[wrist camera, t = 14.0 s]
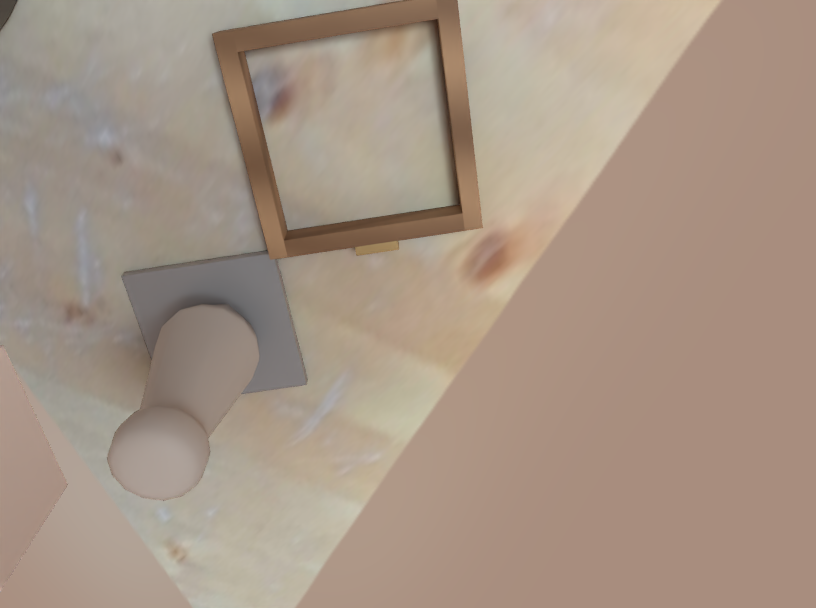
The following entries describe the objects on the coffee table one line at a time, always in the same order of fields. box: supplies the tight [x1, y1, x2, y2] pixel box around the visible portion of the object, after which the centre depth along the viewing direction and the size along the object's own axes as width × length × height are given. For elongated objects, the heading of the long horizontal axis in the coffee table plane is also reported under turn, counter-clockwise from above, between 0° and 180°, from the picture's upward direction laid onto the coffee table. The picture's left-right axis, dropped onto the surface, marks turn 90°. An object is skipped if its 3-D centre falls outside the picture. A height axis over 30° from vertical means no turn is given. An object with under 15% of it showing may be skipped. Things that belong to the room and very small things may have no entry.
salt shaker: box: [107, 304, 259, 501], centre depth 36 cm, size 6×6×13 cm
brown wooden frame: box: [212, 0, 483, 260], centre depth 37 cm, size 13×12×2 cm
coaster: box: [121, 251, 308, 394], centre depth 42 cm, size 9×9×1 cm
